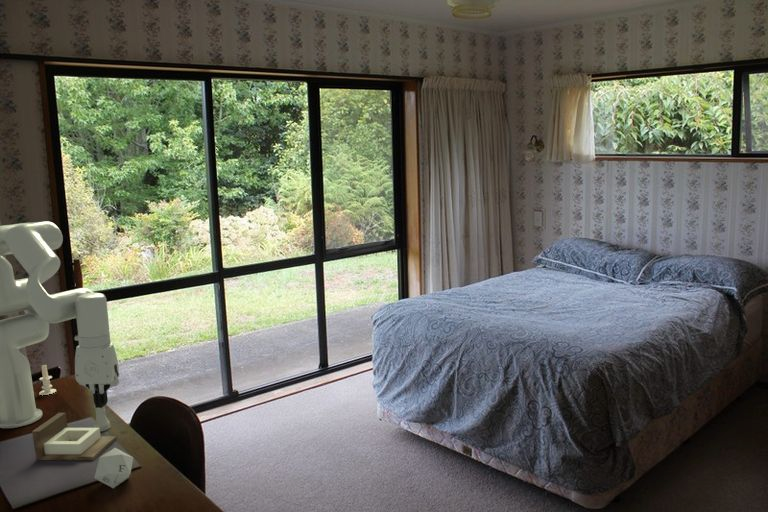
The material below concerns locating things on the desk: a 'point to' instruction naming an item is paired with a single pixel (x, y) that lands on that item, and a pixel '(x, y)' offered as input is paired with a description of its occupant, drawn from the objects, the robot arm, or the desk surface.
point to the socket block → (64, 446)
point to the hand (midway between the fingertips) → (101, 405)
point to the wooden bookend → (59, 424)
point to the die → (114, 467)
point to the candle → (46, 382)
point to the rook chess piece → (101, 419)
